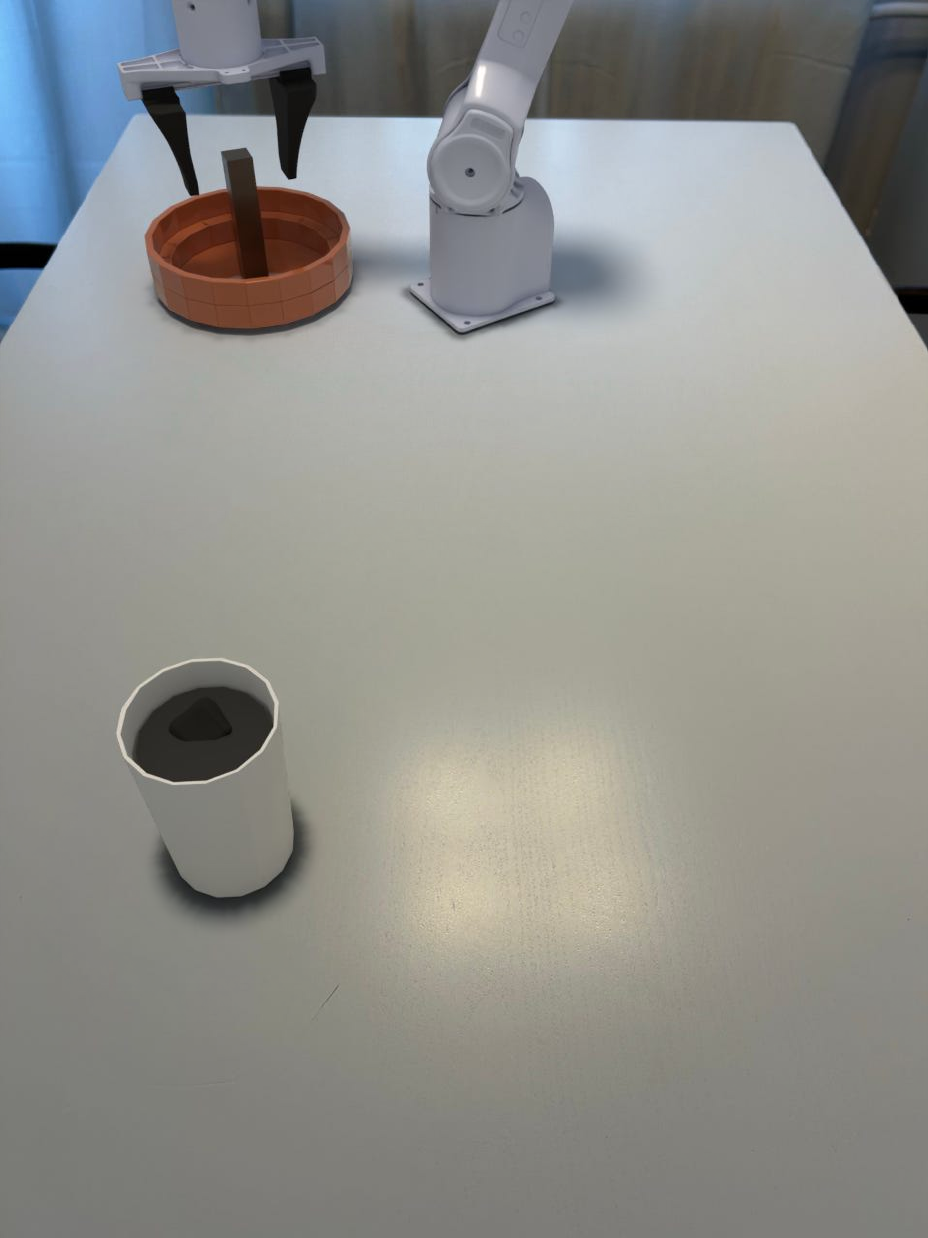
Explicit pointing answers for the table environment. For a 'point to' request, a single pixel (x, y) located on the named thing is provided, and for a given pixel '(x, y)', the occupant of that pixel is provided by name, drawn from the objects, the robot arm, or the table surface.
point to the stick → (245, 212)
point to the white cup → (212, 772)
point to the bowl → (209, 270)
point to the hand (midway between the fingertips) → (241, 181)
